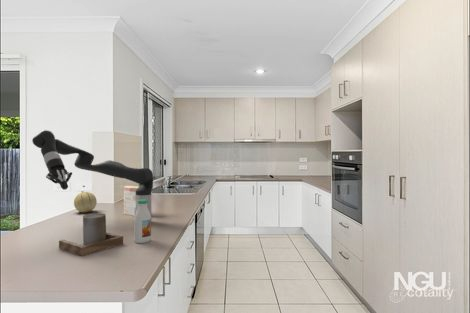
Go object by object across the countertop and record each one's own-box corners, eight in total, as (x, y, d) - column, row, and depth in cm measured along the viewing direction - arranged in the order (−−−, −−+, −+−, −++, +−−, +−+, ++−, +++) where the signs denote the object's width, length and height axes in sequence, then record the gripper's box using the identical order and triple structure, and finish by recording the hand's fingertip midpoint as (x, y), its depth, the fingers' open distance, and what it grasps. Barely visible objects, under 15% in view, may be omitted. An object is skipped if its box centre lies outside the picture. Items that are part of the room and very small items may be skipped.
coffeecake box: (146, 215, 204) (146, 186, 204) (137, 217, 198) (137, 187, 198) (131, 212, 212) (131, 185, 212) (123, 214, 206) (123, 186, 206)
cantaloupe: (90, 214, 205) (90, 192, 204) (69, 214, 205) (69, 192, 205) (100, 210, 219) (100, 190, 219) (80, 210, 220) (80, 189, 219)
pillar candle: (106, 240, 145) (105, 209, 145) (106, 246, 136) (105, 213, 136) (83, 243, 141) (83, 211, 141) (82, 249, 132) (81, 215, 132)
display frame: (59, 248, 132) (59, 240, 132) (100, 237, 149) (100, 230, 149) (81, 256, 123) (81, 247, 123) (123, 243, 140) (123, 236, 140)
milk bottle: (135, 244, 139) (135, 201, 139) (133, 240, 146) (133, 199, 146) (152, 242, 143) (152, 200, 142) (149, 238, 149) (149, 198, 149)
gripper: (63, 166, 164) (75, 191, 158) (37, 167, 153) (48, 194, 147) (69, 157, 161) (81, 183, 155) (43, 157, 149) (55, 185, 144)
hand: (65, 188), depth 151 cm, fingers closed
